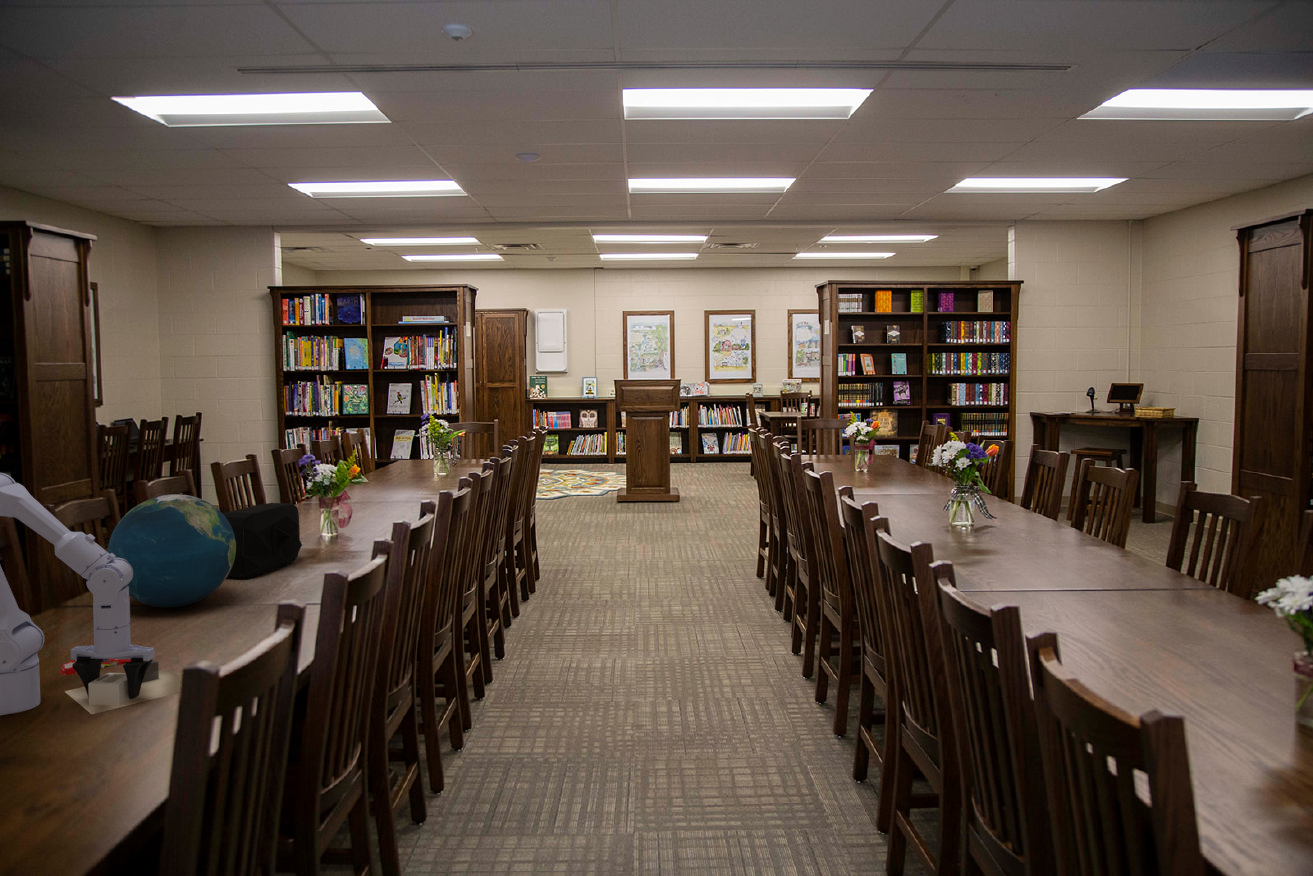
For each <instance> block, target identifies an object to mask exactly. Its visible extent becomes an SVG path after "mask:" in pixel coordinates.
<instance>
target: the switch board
mask: <svg viewBox="0 0 1313 876" xmlns="http://www.w3.org/2000/svg"><path fill="white" fill-rule="evenodd" d="M159 668H160V667H159V661H158V660H152V662H151V664H150V665H149V667H148V669H147V671H146V673H145V676H144V679H143V682H142V685H141V689H140V694H139V696H137V697H135V698H134V699H129V700H127V701H126V702H124V703H122V704H121V705H89V698H88V695H87V692H86V689H85V686H81V687H78V688H73V689H69V690H64V693H66V694H67V695H68V696H69V697H70V698H71V699H72V700H74V701H75V702H76V703H77V704H79V705H80V706H81V707H82V708H83V709H85V710H86V711H87V712H89V714H91V715H95V714H99V713H104V712H108V711H111V710H115V709H119V708H123V707H126V706H127V707H128V706H131V705H135V704H140V703H143V702H148V701H151V700H154V699H160V698H164V697H167V696H171V695H176V694H179V687H180V678H181V677H182V676H181V675H179V674H177V673H176V672H175V671H172V670H171V669H170V668H169V667H166V668H161V669H159Z"/></svg>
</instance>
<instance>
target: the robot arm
mask: <svg viewBox="0 0 1313 876" xmlns="http://www.w3.org/2000/svg"><path fill="white" fill-rule="evenodd" d="M0 517H10V518H15V519H16V520H19V521H20V522H21V523H23V524H24V525H25V526H27V527H28V528H29V529H31V530H33V531H34V532H35V533H37V534H38V535H40V536H41V537H42V538H44V539H45V540H47V541H48V542H49V543H50V544H52V545H53V546H54V555H55V556H56V558H58V559H59V560H60V561H61V562H63V563H64V564H66V565H67V566H68V567H69V568H70V569H72V570H73V571H74V572H75V573H77V574H78V575H79V576H80V577H82V578H83V579H85V580H87V581H85V582H86V586H87V589H88V591H89V592H90V593H92V597H93V598H92V599H93V600H92V601H93V603H92V609H93V611H92V613H93V614H92V615H93V617H92V618H93V644H92V645H77V646H74V647H73V648H70V659H71V660H74V659H77V660H76V662H75V663H73V664H72V667H73V669H74V670H75V671H76V672H77V673H76V675H78V677H79V678H80V680H81V682H82V684H83V687H85V689H86V692H87V695H88V698H89V686H88V683H90V682H92V681H94V680H96V679H98V678H100V677H101V669H102V668H101V663H102V659H131V662H127V663H124V664H122V666H123V670H124V673H126V677H127V682H128V696H129V699H134V698H135V697H137V696H139V694H140V689H141V685H142V682H143V679H144V676H145V673H146V671H147V669H148V667H149V665H150V664H151V662H152V661H154V660H153V659H155V657H156V656H155V647H147V646H141V645H137V644H131V607H130V606H131V605H130V604H131V603H130V596H129V586H127V587H125V586H126V585H128V584H129V582H130V581H131V580H132V577H133V569H132V567H131V565H130V564H129V563H128V562H127V560H125V559H122V558H115V557H116V556H115V555H114V554H113V553H111V554H109V553H108V550H106V549H104V548H103V547H102V546H100V545H99V544H98V543H97V542H96V541H95V539H96V537H95V536H94V535H93V534H92V533H89V534H86V533H84V532H83V531H71V530H69V529H68V527H66V526H65V524H63V523H62V522H61V521H60V520H59V519H57V517H56V516H54V514H52V513H51V512H50V511H49V510H48V509H47V508H46V507H44V506H43V505H42V504H41V503H40V502H39V501H38V500H36V498H34V497H33V495H31V494H30V492H29V491H28V489H26V487H25V486H24V485H22V484H21V483H19V482H16V481H15V480H14V478H13V477H11V476H10V475H8V474H6V473H3V472H0ZM124 587H125V588H124ZM44 644H45V635H44V632H43V630H42V629H41V628H40V627H39V626H37V625H36V624H35V623H34V622H33V620H32V619H31V617H30V615H29V613H26V612H25V611H23V610H21V609H20V608H19V606H18V603H17V600H16V599H15V596H14V594H13V591H12V589H11V587H10V585H9V582H8V580H7V577H6V575H5V572H4V571H3V569H2V566H1V564H0V716H4V715H9V714H10V715H11V714H17V713H22V712H25V711H26V712H27V711H28V710H31V709H35V708H36V707H38V706H39V705H40V704H41V678H40V677H41V676H40V659H39V656H38V652H39V651H40V650H42V648H43V647H44Z"/></svg>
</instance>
